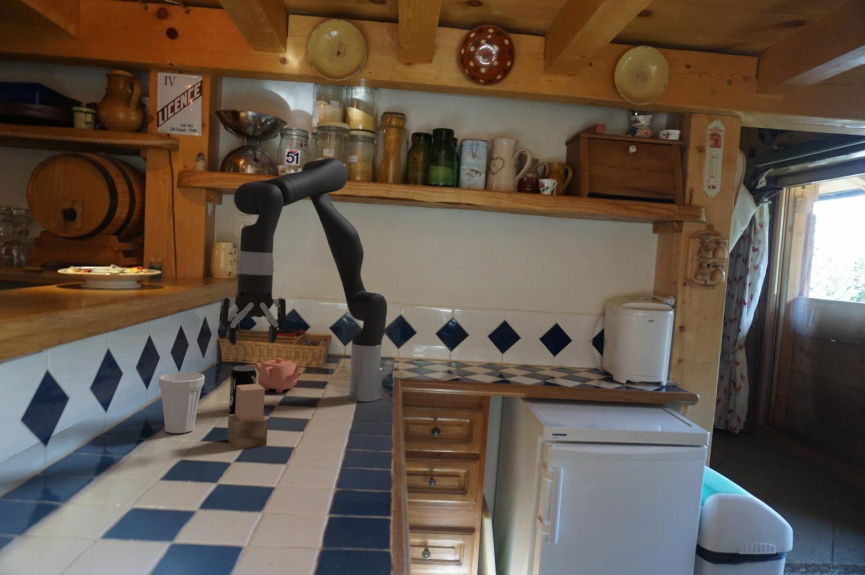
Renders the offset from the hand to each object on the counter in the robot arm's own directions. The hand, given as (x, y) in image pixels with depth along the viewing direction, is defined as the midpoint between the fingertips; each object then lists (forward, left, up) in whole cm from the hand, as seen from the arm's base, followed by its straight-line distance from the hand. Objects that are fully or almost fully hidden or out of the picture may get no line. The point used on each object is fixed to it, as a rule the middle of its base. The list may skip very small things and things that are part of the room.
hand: (252, 343), depth 118 cm
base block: (0, 0, -23) cm, 23 cm away
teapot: (-21, -43, -23) cm, 53 cm away
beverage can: (-5, -24, -23) cm, 34 cm away
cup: (+12, -14, -23) cm, 30 cm away
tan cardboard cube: (0, 0, -17) cm, 17 cm away
